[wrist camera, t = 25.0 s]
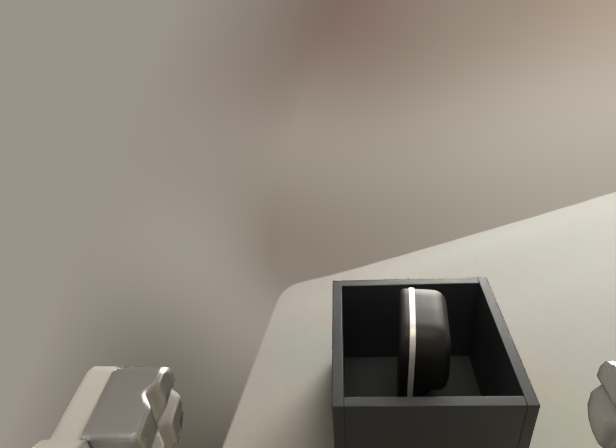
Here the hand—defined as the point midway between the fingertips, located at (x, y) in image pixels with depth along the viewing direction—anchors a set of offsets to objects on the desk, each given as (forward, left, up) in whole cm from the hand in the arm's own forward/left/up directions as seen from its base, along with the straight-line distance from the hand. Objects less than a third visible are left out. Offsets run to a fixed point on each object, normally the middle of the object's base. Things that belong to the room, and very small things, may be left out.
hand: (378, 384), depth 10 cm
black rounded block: (+5, +22, -29) cm, 37 cm away
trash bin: (+5, +22, -30) cm, 38 cm away
